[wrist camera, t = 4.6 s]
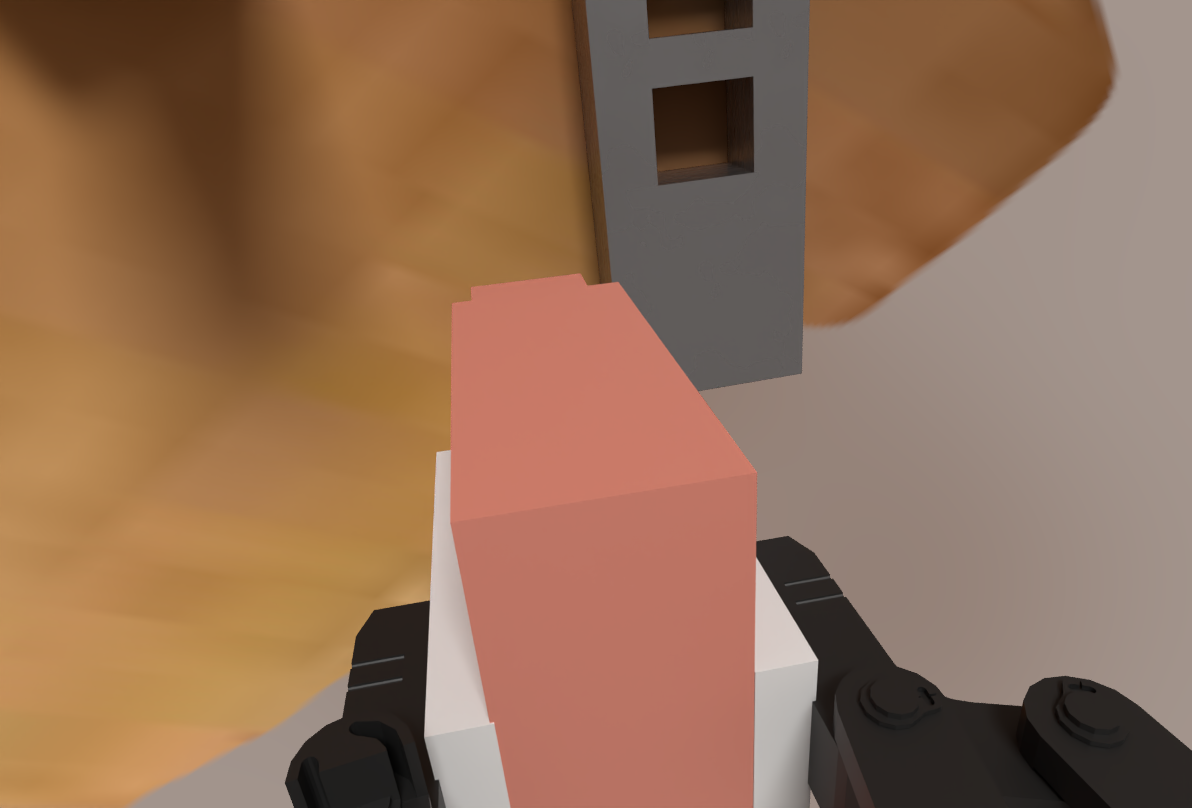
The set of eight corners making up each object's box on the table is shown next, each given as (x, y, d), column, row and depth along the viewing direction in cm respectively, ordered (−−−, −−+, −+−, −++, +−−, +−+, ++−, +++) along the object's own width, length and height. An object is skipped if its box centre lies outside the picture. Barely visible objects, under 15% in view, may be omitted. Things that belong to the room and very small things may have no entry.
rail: (609, 376, 35) (623, 404, 32) (532, -387, 23) (543, -445, 21) (774, 349, 36) (801, 373, 33) (778, -398, 24) (818, -454, 22)
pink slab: (502, 566, 19) (544, 1000, 10) (452, 261, 16) (449, 522, 7) (616, 546, 20) (751, 951, 11) (591, 244, 16) (756, 472, 7)
